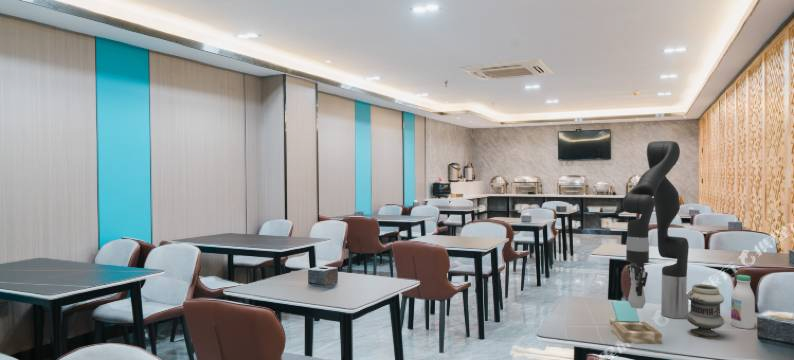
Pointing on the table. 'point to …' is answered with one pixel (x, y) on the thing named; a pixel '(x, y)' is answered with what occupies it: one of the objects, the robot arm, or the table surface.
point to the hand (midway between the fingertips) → (636, 295)
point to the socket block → (636, 332)
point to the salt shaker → (636, 295)
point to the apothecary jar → (705, 310)
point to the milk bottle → (743, 304)
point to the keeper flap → (625, 312)
